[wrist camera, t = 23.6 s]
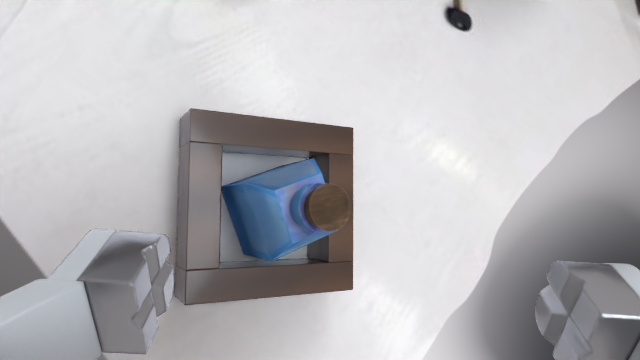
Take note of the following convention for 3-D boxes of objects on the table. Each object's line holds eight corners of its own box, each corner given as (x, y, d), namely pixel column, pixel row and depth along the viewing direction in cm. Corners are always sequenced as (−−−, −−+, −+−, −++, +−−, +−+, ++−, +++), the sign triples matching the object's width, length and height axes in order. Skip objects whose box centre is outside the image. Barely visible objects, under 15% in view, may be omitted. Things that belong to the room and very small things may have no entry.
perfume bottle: (243, 254, 38) (305, 270, 27) (220, 187, 37) (274, 177, 27) (303, 228, 41) (380, 233, 30) (282, 165, 40) (353, 148, 30)
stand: (330, 283, 42) (353, 289, 38) (174, 296, 35) (184, 305, 31) (331, 134, 43) (353, 127, 39) (180, 118, 36) (190, 108, 32)
